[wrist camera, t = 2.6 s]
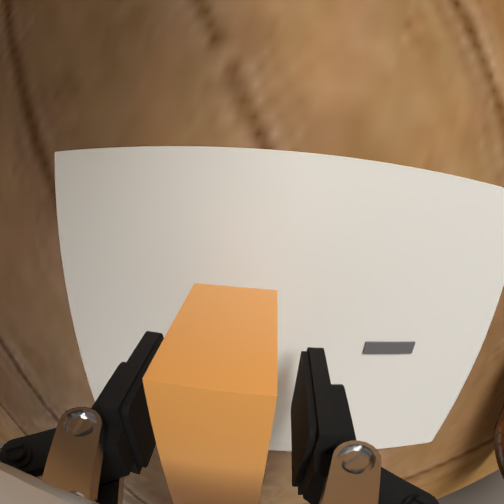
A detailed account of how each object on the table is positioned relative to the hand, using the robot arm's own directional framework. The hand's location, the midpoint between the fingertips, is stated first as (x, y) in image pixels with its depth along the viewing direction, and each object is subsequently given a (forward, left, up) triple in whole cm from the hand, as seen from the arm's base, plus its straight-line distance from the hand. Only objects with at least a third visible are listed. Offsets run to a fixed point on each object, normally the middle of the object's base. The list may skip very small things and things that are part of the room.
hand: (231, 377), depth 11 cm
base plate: (0, +2, -4) cm, 5 cm away
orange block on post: (0, 0, 0) cm, 0 cm away
